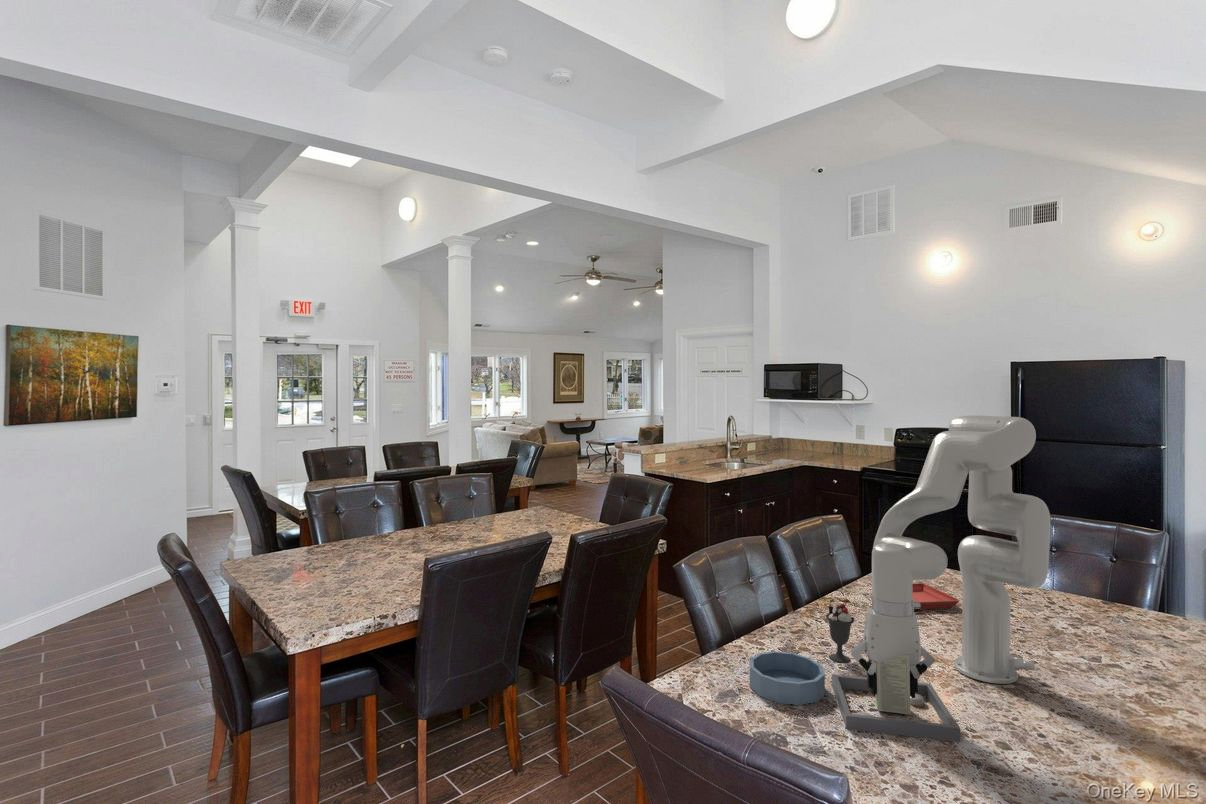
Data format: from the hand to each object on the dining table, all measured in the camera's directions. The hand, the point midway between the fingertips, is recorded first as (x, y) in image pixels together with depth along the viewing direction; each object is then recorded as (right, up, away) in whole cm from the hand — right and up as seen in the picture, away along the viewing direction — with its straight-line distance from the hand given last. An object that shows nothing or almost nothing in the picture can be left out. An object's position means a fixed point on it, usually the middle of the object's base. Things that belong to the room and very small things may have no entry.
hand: (892, 692), depth 124 cm
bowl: (-19, -4, +10) cm, 21 cm away
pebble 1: (-8, -4, -4) cm, 10 cm away
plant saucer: (+39, -4, +67) cm, 77 cm away
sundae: (-1, -4, +25) cm, 25 cm away
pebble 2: (+6, -4, +3) cm, 8 cm away
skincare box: (0, -3, 0) cm, 3 cm away
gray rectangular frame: (0, -4, 0) cm, 4 cm away
